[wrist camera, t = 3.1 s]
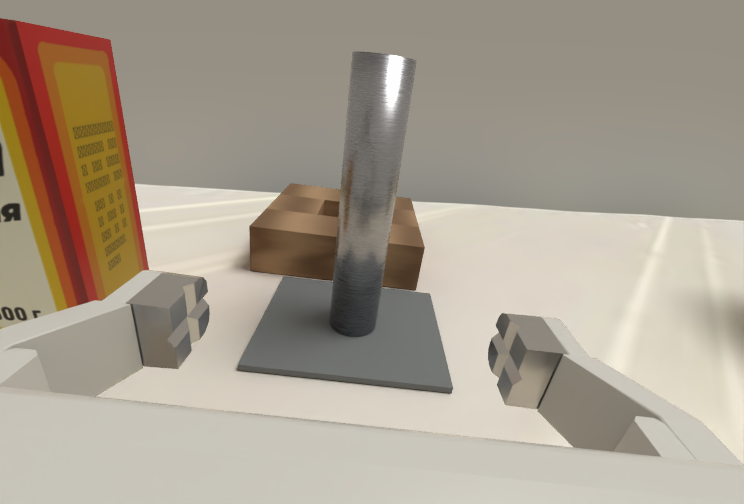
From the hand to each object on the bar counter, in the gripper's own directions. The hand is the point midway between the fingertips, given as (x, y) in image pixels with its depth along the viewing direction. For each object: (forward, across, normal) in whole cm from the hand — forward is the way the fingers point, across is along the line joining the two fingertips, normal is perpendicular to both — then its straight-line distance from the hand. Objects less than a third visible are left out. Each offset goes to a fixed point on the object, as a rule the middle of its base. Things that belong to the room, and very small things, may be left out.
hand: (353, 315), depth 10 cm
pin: (+12, 0, +9) cm, 14 cm away
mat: (+12, 0, +9) cm, 15 cm away
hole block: (+24, +2, +9) cm, 26 cm away
